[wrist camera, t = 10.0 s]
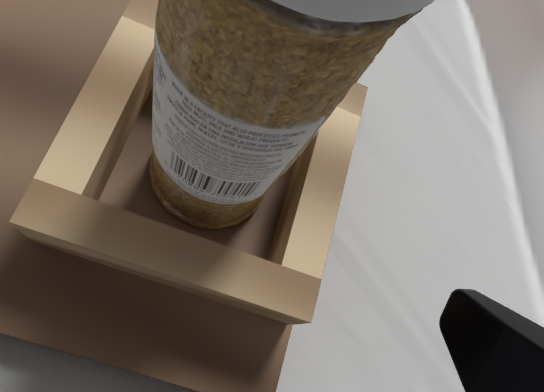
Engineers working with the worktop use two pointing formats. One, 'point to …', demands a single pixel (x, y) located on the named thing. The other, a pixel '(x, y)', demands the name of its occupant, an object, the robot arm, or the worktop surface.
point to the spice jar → (251, 92)
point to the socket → (143, 213)
